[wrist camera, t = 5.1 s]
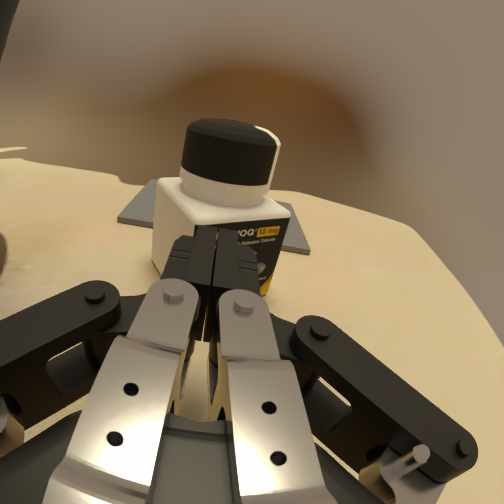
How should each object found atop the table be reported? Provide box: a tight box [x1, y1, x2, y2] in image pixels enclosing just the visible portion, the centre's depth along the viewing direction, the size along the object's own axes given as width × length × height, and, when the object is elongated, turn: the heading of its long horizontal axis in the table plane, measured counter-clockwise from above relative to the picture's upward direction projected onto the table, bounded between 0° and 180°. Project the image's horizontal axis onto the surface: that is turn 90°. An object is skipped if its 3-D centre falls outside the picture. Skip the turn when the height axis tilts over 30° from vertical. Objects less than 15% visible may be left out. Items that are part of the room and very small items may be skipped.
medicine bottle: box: [152, 118, 291, 310], centre depth 20 cm, size 7×7×12 cm
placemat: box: [117, 179, 311, 255], centre depth 34 cm, size 20×13×1 cm, turn 93°
